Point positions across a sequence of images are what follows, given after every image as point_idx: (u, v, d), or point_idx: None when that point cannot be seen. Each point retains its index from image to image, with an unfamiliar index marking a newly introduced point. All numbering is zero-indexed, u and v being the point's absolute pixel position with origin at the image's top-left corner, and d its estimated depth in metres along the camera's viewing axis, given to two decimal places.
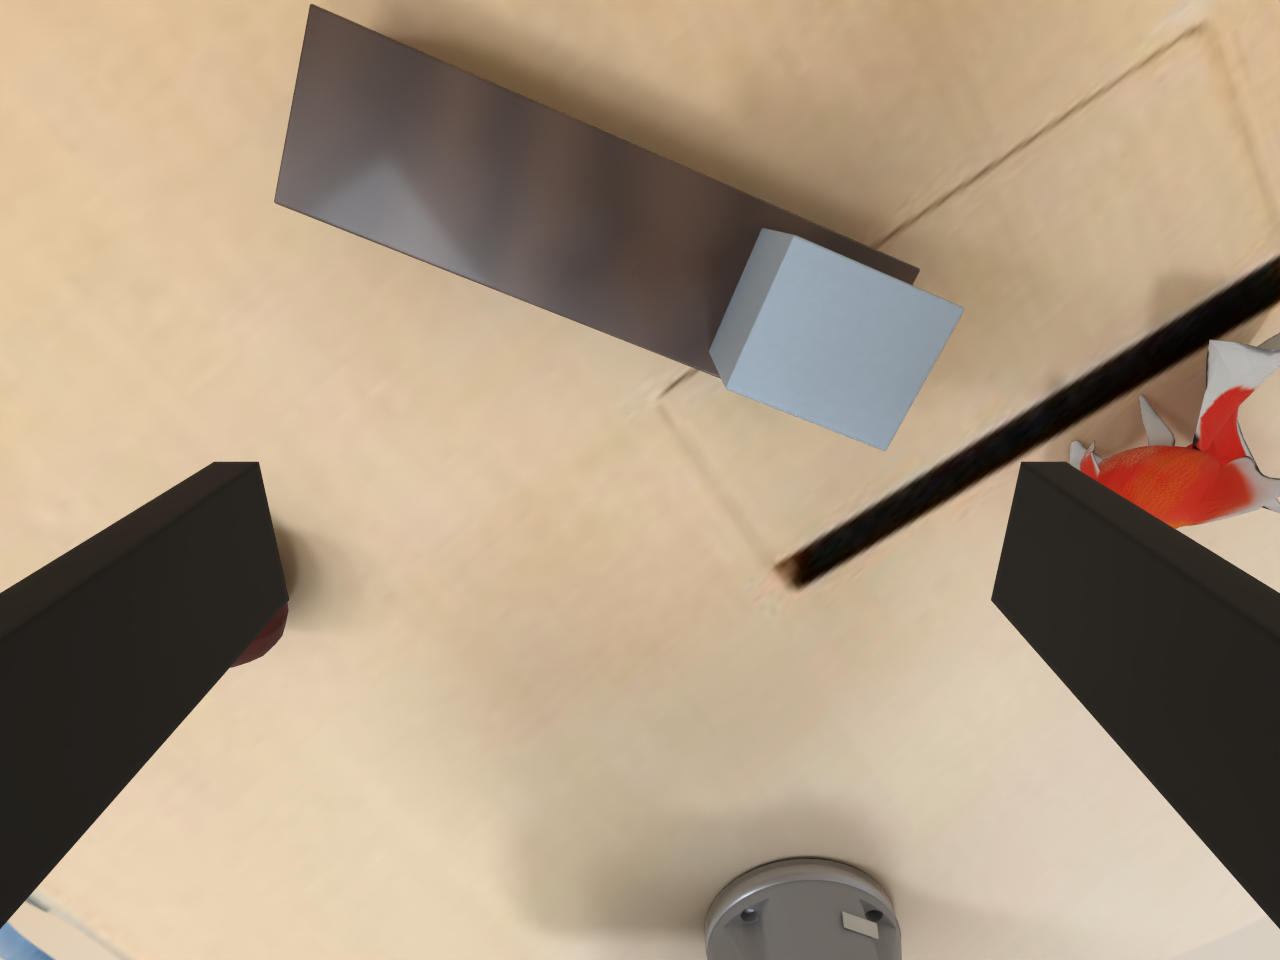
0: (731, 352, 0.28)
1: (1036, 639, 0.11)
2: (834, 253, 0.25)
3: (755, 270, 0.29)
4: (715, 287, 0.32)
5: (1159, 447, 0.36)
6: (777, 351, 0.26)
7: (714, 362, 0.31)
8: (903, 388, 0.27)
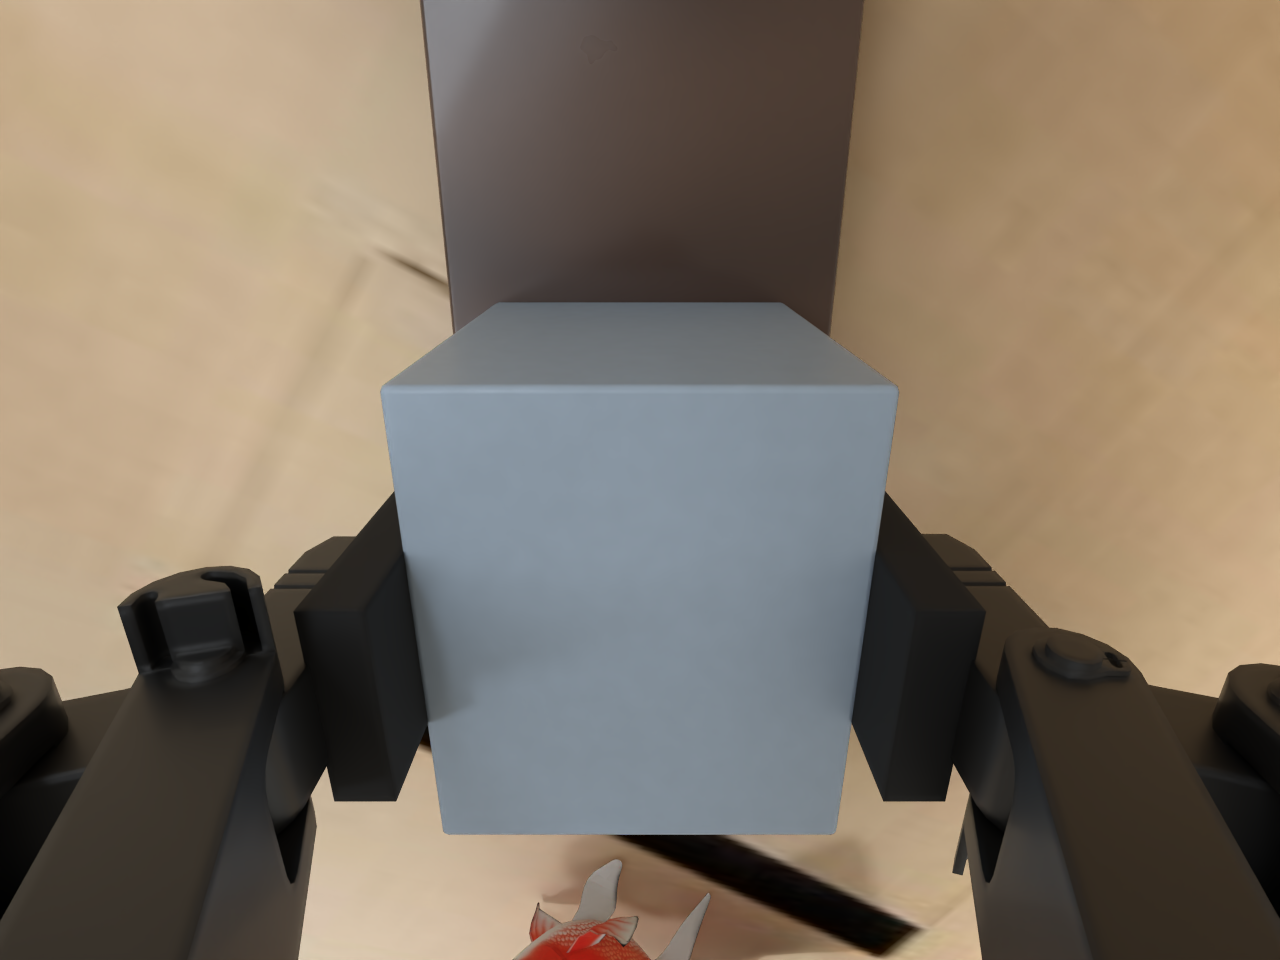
0: (503, 354, 0.10)
1: None
2: (880, 514, 0.09)
3: (715, 324, 0.12)
4: (634, 257, 0.14)
5: None
6: (561, 487, 0.08)
7: (470, 323, 0.12)
8: (606, 805, 0.10)
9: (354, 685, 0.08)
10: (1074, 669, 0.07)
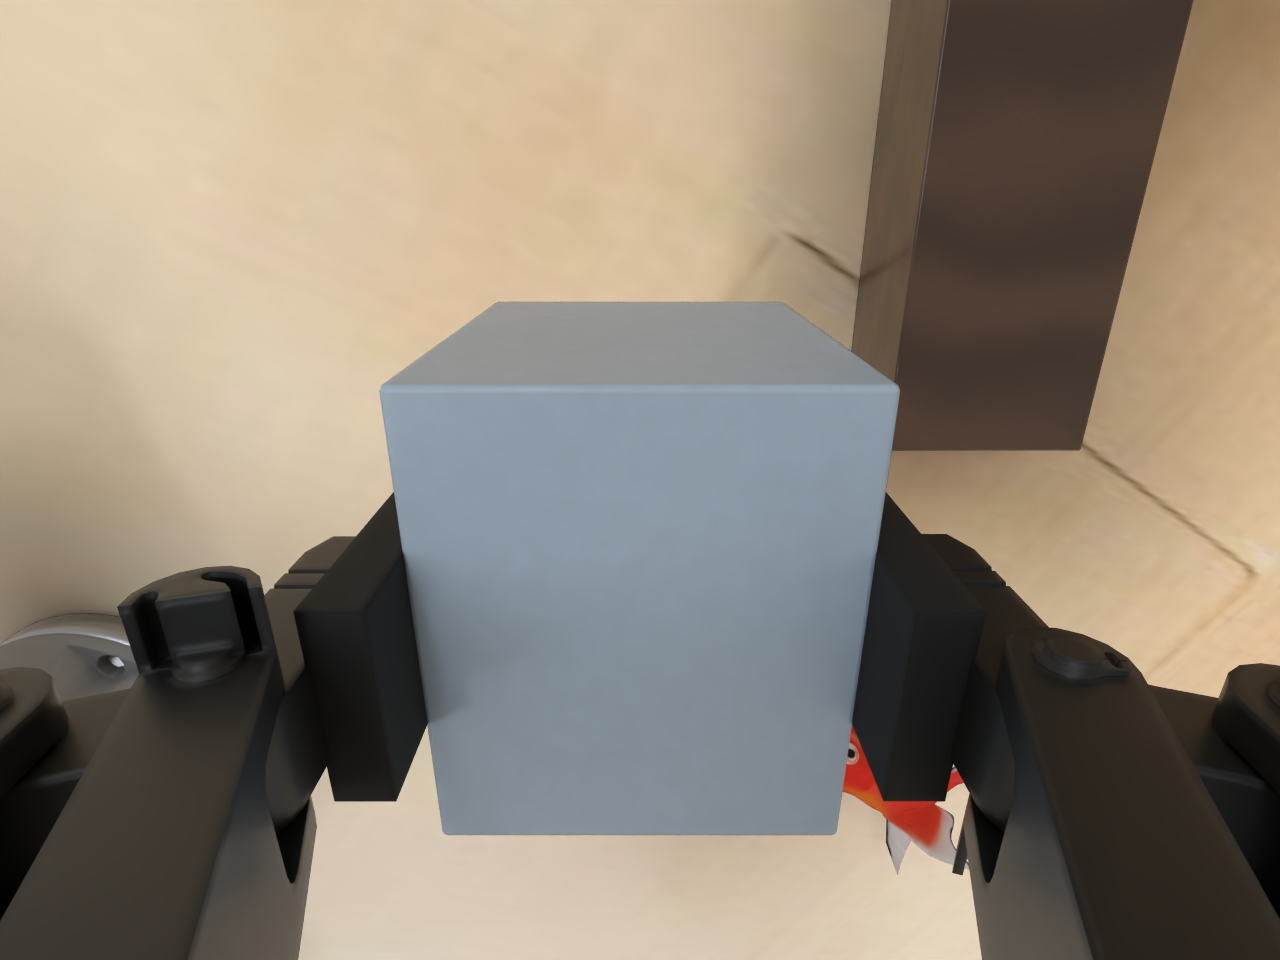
0: (503, 353, 0.09)
1: None
2: (880, 513, 0.09)
3: (715, 323, 0.12)
4: (1021, 232, 0.25)
5: None
6: (560, 486, 0.08)
7: (469, 322, 0.12)
8: (606, 804, 0.10)
9: (354, 685, 0.08)
10: (1074, 669, 0.07)
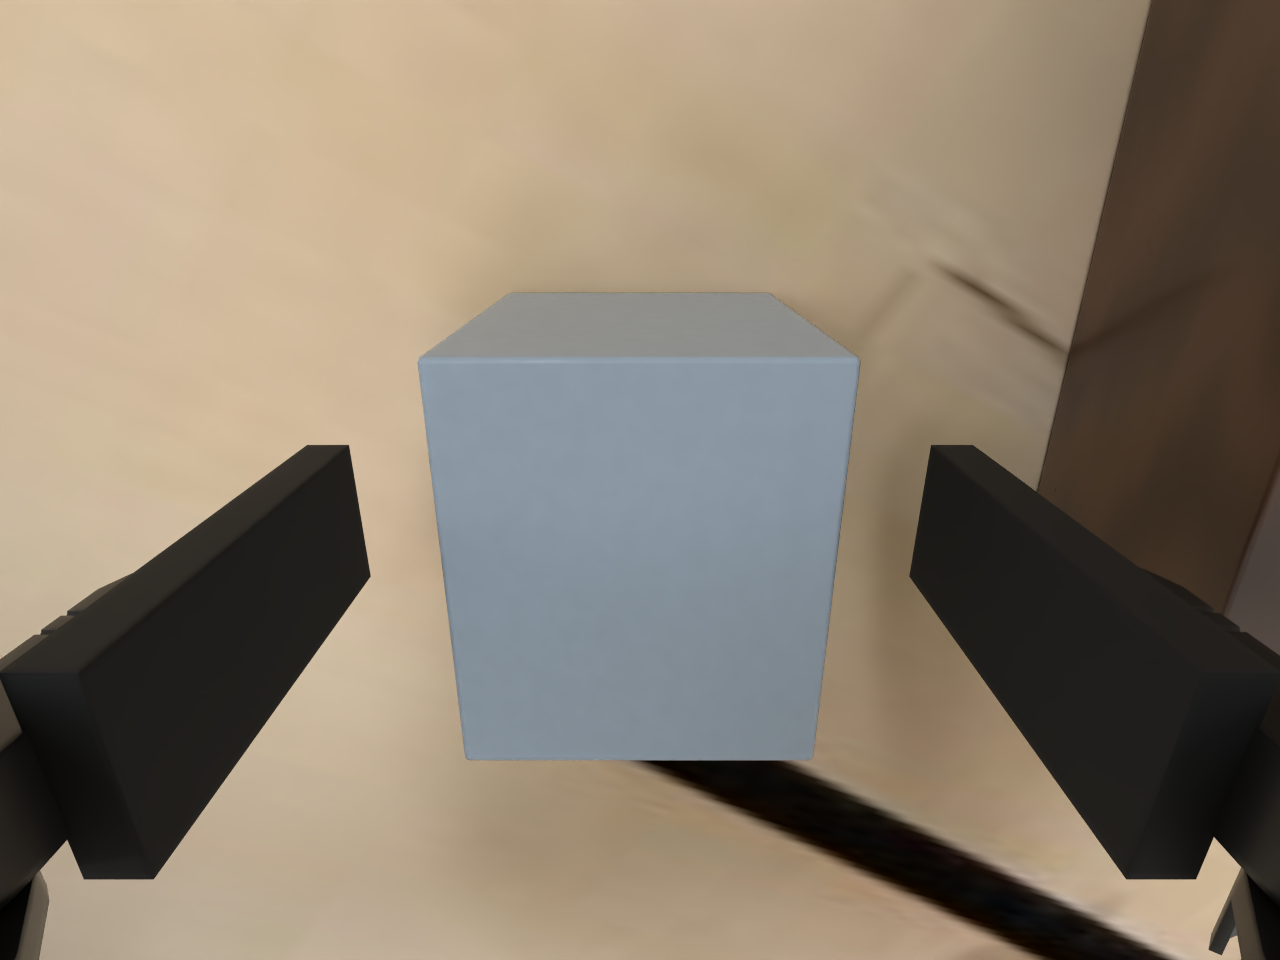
0: (520, 333, 0.11)
1: (941, 610, 0.12)
2: (845, 469, 0.10)
3: (706, 310, 0.13)
4: None
5: None
6: (571, 445, 0.10)
7: (487, 309, 0.13)
8: (610, 732, 0.12)
9: (83, 754, 0.07)
10: None
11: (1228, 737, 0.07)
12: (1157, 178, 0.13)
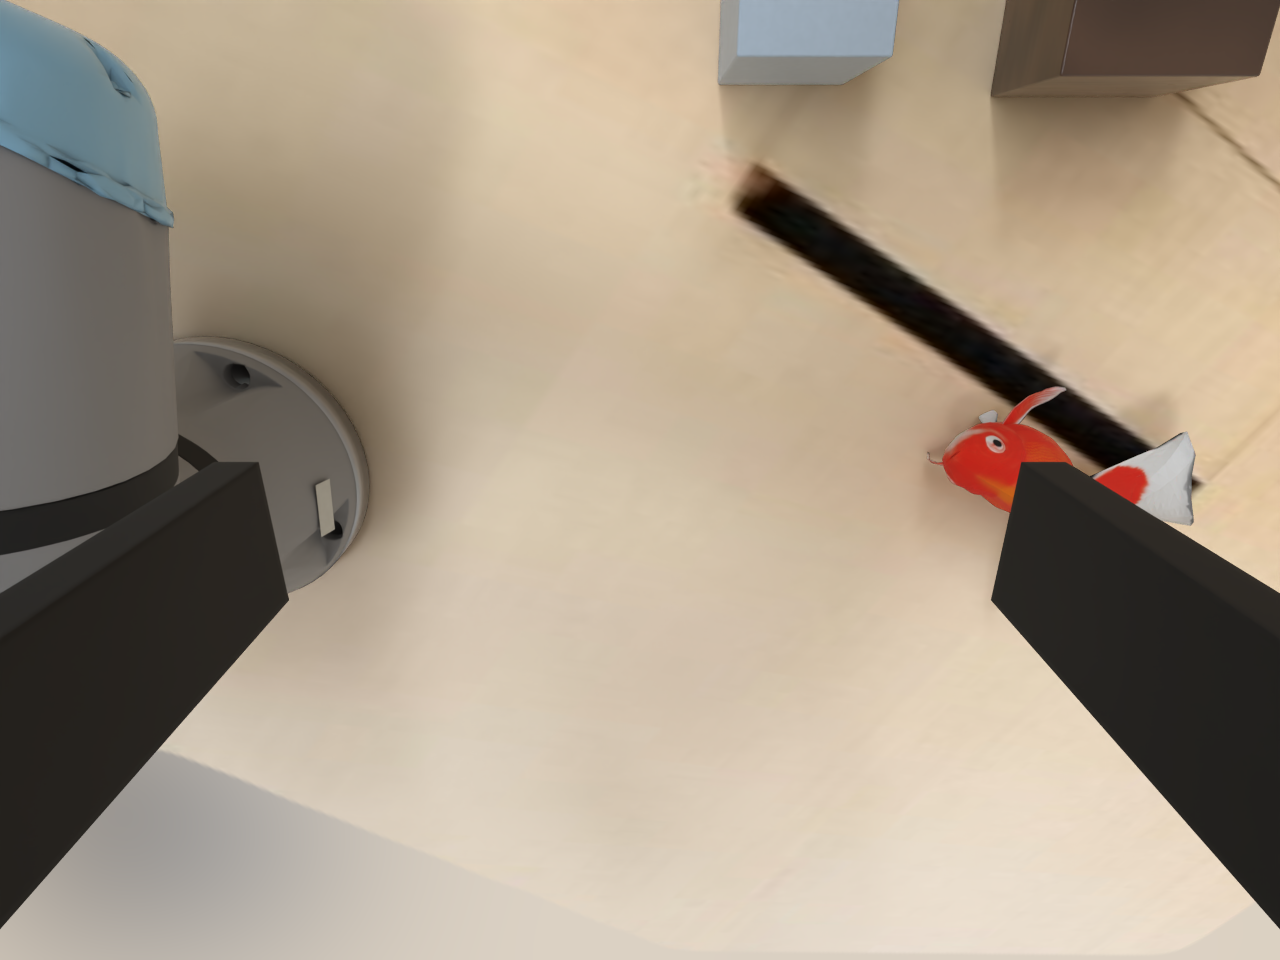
0: None
1: (1036, 639, 0.11)
2: None
3: None
4: None
5: None
6: None
7: None
8: (803, 37, 0.26)
9: None
10: None
11: None
12: None
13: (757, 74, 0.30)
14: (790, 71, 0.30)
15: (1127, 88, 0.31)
